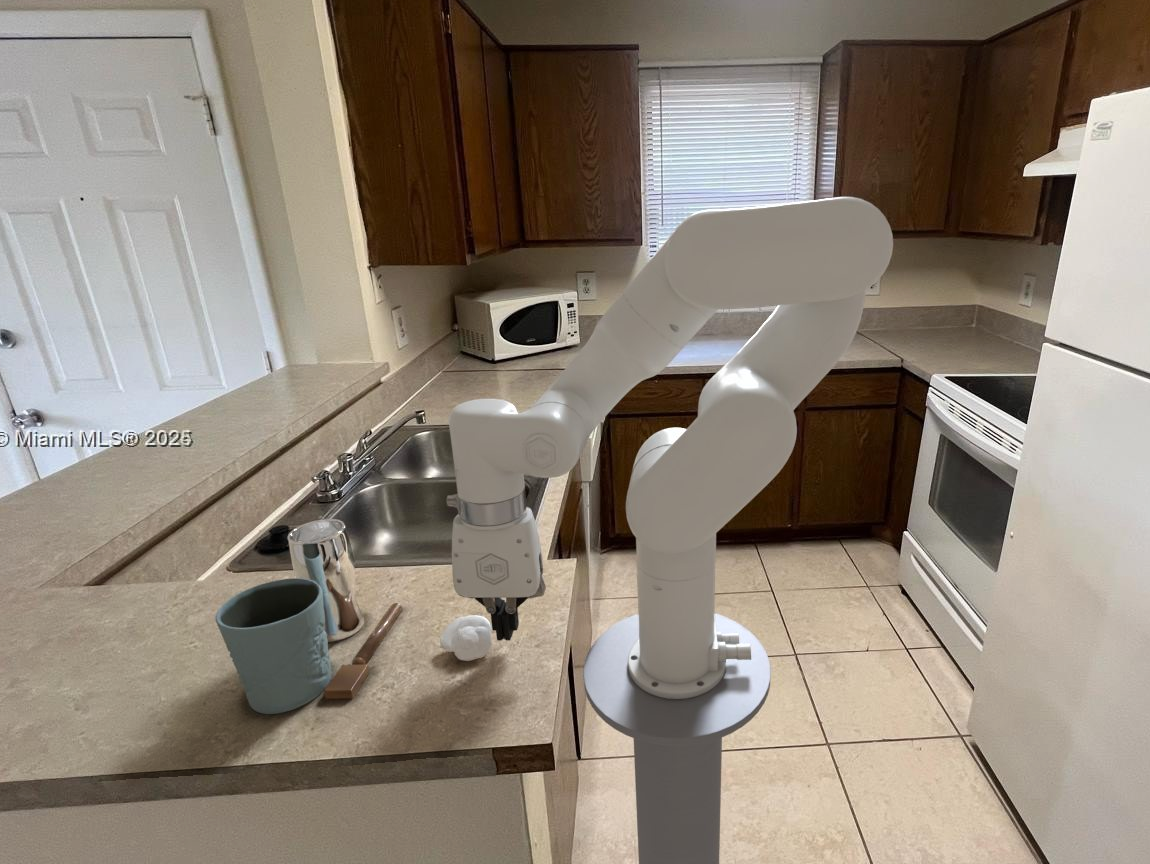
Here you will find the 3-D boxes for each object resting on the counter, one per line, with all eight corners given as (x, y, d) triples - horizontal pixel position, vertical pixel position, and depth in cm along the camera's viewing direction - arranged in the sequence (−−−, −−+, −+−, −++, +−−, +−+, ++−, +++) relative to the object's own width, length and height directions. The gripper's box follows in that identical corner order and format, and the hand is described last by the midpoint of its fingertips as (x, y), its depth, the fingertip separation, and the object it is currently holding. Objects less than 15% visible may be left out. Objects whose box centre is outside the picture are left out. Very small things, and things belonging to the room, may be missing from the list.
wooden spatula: (387, 610, 87) (385, 600, 86) (410, 610, 87) (408, 600, 86) (325, 699, 71) (322, 688, 70) (353, 698, 71) (350, 687, 70)
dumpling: (500, 639, 81) (500, 618, 79) (484, 671, 77) (483, 650, 75) (451, 626, 82) (449, 606, 80) (431, 658, 77) (429, 637, 75)
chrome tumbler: (304, 628, 83) (278, 530, 78) (357, 606, 88) (336, 513, 83) (320, 651, 79) (294, 550, 74) (375, 627, 83) (355, 530, 78)
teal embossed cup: (223, 702, 71) (194, 615, 66) (304, 648, 79) (283, 569, 75) (281, 730, 67) (254, 639, 63) (360, 670, 75) (340, 587, 71)
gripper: (417, 519, 68) (437, 653, 74) (551, 519, 68) (560, 653, 75) (440, 490, 75) (457, 615, 81) (561, 491, 75) (569, 615, 82)
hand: (506, 633), depth 78 cm, fingers closed
